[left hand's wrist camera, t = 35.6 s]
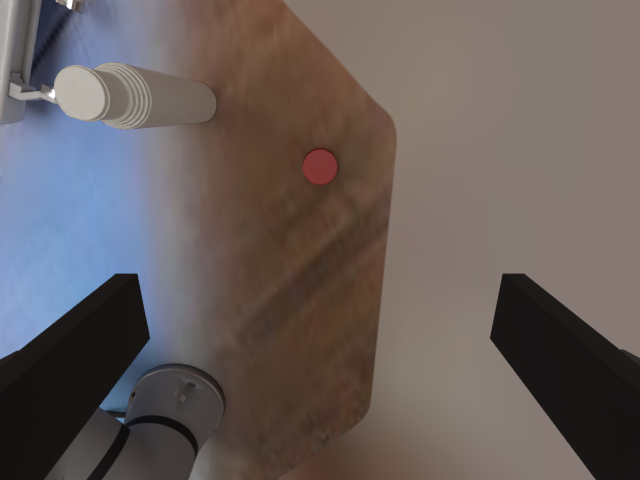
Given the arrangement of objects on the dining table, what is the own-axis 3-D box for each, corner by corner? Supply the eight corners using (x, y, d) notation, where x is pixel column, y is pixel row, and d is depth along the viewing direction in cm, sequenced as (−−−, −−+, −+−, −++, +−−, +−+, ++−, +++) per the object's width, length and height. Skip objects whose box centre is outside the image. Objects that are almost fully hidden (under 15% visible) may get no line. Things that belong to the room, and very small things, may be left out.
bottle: (190, 72, 43) (59, 33, 21) (224, 99, 44) (130, 87, 22) (171, 105, 44) (28, 100, 22) (203, 130, 45) (97, 148, 23)
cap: (297, 158, 46) (296, 160, 44) (326, 141, 45) (326, 143, 43) (314, 187, 47) (313, 190, 45) (342, 171, 47) (343, 174, 45)
